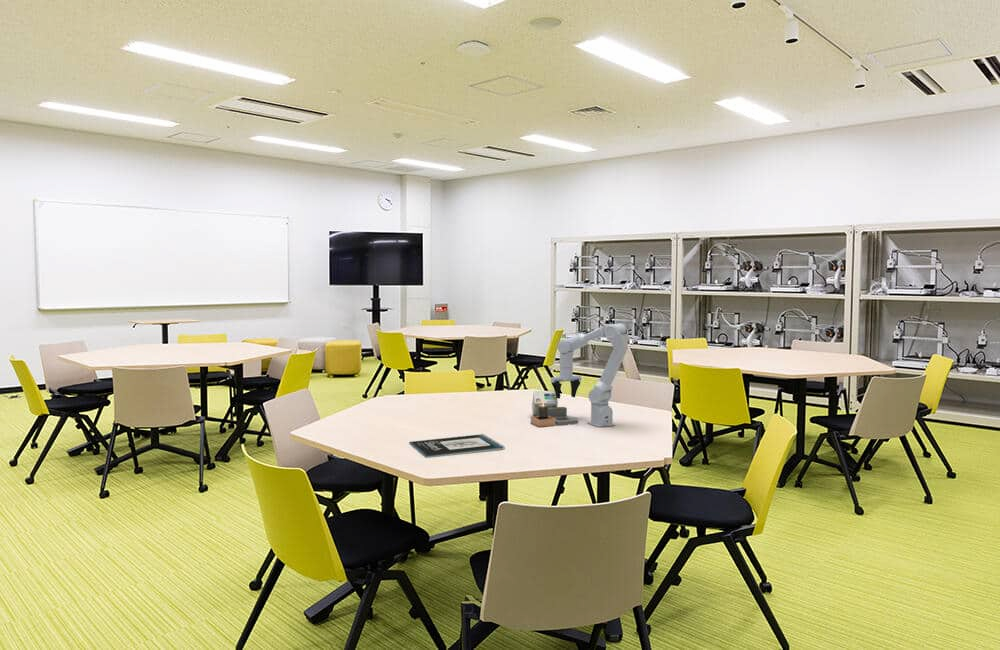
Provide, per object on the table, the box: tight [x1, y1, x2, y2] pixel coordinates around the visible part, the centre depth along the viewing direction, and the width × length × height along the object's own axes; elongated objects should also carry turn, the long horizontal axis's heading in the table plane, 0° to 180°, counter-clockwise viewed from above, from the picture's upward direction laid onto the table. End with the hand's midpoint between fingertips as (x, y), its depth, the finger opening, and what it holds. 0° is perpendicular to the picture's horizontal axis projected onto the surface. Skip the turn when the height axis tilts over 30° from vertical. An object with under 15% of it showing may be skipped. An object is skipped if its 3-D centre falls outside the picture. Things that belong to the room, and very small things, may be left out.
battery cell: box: [538, 403, 548, 420], centre depth 285 cm, size 4×4×8 cm
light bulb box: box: [531, 390, 559, 417], centre depth 302 cm, size 11×7×11 cm
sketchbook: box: [408, 433, 506, 459], centre depth 248 cm, size 22×30×2 cm
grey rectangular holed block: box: [548, 406, 579, 426], centre depth 292 cm, size 13×10×5 cm
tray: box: [530, 415, 556, 428], centre depth 286 cm, size 8×8×3 cm
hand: (565, 397), depth 298 cm, fingers open, 7 cm apart
